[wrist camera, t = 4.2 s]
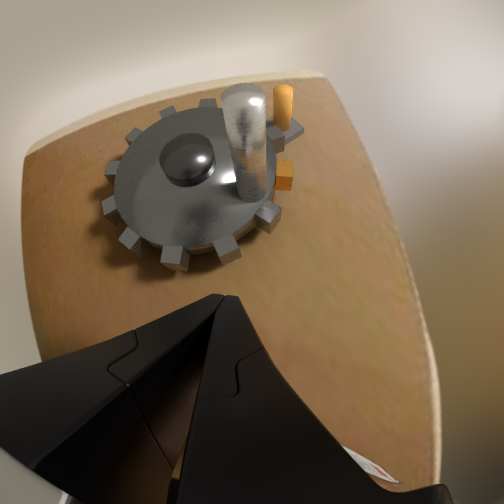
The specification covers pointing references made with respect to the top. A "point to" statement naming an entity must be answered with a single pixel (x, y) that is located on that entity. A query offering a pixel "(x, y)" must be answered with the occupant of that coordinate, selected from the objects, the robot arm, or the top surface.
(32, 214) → the top surface
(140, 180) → the sprocket
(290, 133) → the rounded peg on base
